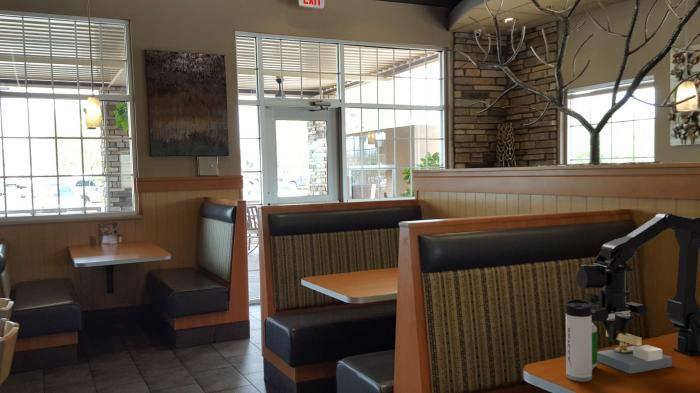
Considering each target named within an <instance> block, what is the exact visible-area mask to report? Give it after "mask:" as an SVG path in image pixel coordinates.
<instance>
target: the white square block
mask: <svg viewBox="0 0 700 393" xmlns="http://www.w3.org/2000/svg"><path fill="white" fill-rule="evenodd" d="M634 346H635V347H633V356H635V357H638V358H640V359H643V360H646V361H653V360H659V359H662V354H663V348H659V347H656V346H652V345H650V344H642V345H638V346H636V345H634Z"/></svg>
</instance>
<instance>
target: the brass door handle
mask: <svg viewBox="0 0 700 393" xmlns="http://www.w3.org/2000/svg"><path fill="white" fill-rule="evenodd" d="M605 337H608V338H609V336H608V334H607V331H606V330H605ZM616 339H617V340H620V341H619V346H617V347H615V348H616V351H617V352H621V353H630V352H631V349H629V348H627V347H628V344H630V345H632V346H641V345H643V344H642V339H643V338H642V337H640V336H636V335H633V334H631V333H627V332H621V331H618V330H617V332H616V337H615V340H616ZM617 340H616V341H617Z"/></svg>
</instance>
